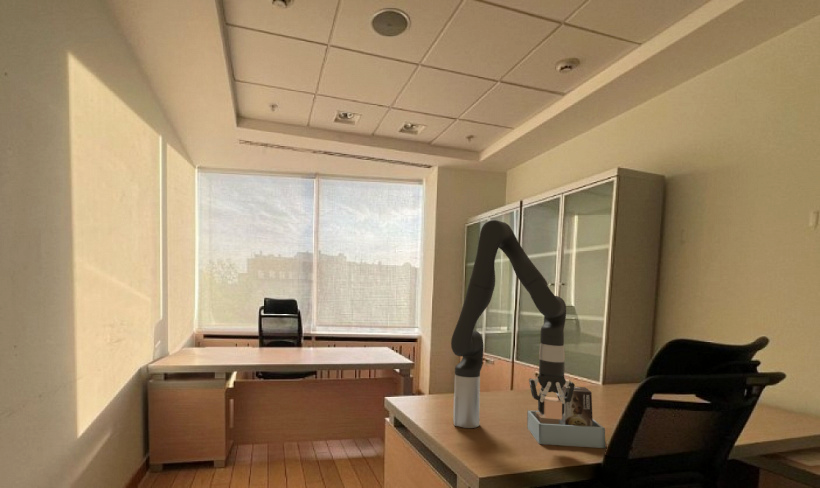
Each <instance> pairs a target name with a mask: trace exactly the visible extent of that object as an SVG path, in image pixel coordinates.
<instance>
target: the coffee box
mask: <svg viewBox="0 0 820 488" xmlns="http://www.w3.org/2000/svg"><path fill="white" fill-rule="evenodd" d="M561 390H562V393H563V397H564V396H565V392H566V385H564V386H563V387H562V389H561ZM592 395H593V394H592V391H591V390H589V389H588V388H587V387H586V386H585V387H584V386H574V390H573V394H572V398H571V401H570V402H566V403H565V404H564V414H562V419H560V425H575V426H592V427H593V419H594V418H593V398H592V397H593V396H592Z"/></svg>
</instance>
